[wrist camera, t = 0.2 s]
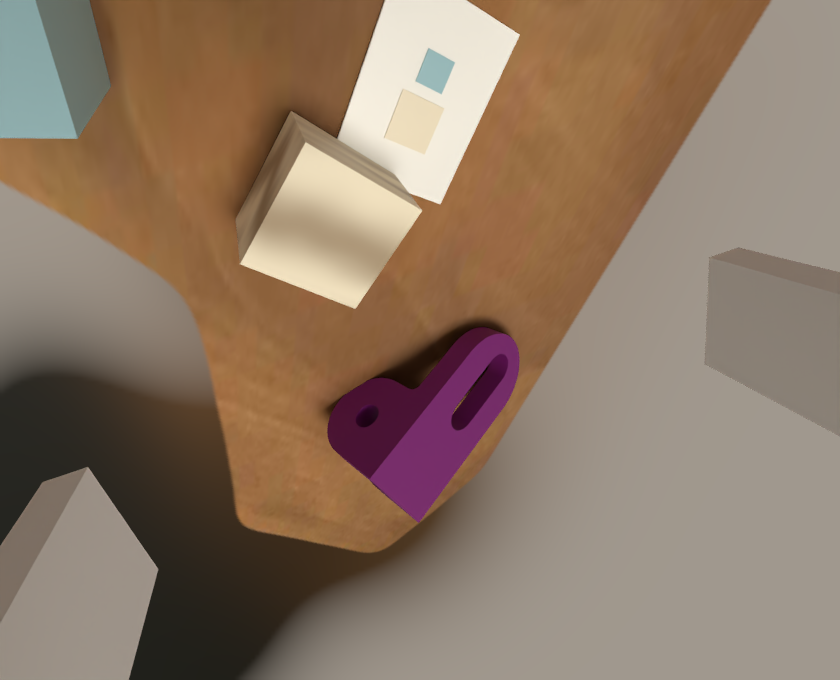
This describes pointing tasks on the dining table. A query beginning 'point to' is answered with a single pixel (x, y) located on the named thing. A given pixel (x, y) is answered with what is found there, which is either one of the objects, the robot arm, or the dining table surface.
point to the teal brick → (49, 68)
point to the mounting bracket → (425, 420)
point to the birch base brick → (322, 215)
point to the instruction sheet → (425, 89)
